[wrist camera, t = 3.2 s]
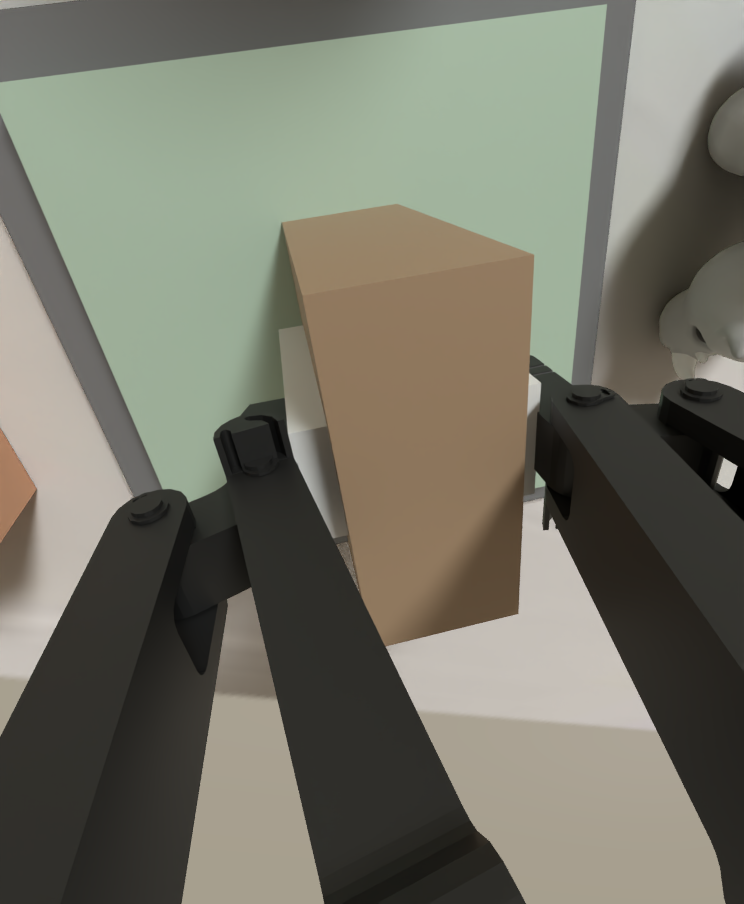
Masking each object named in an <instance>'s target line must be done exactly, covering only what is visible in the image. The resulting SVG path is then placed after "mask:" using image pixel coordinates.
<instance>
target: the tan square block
mask: <svg viewBox="0 0 744 904" xmlns="http://www.w3.org/2000/svg"><path fill="white" fill-rule="evenodd" d="M35 491H36V487H35V485H34V484H33V482H32V480H31V479H30V477H29V475H28V474H27V472H26V470H25V469H24V467H23V465H22V464H21V462H20V460H19V459H18V457H17V455H16V454H15V452H14V450H13V449H12V447H11V445H10V444H9V442H8V440H7V439H6V437H5V435H4V434H3V432H2V430H1V429H0V543H1V541H2V540H3V539H4V537H5V536H6V534H7V533H8V531H9V530H10V528H11V527H12V525H13V524H14V522H15V521H16V519H17V518H18V516H19V515H20V513H21V512H22V510H23V509H24V507H25V506H26V504H27V503H28V501H29V500H30V498H31V497H32V495H33V494H34V492H35Z"/></svg>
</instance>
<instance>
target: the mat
mask: <svg viewBox="0 0 744 904" xmlns="http://www.w3.org/2000/svg"><path fill="white" fill-rule="evenodd" d="M604 4H607V10H606V20H605V31H604V42H603V52H602V63H601V73H600V84H599V95H598V105H597V116H596V126H595V137H594V148H593V158H592V169H591V179H590V190H589V200H588V211H587V222H586V232H585V243H584V253H583V264H582V275H581V285H580V296H579V306H578V317H577V328H576V338H575V349H574V359H573V370H572V381H571V384H572V385H591V380H592V371H593V363H594V354H595V346H596V337H597V328H598V320H599V311H600V303H601V294H602V286H603V277H604V269H605V260H606V252H607V243H608V235H609V226H610V218H611V209H612V201H613V192H614V184H615V175H616V167H617V158H618V150H619V141H620V133H621V124H622V116H623V107H624V98H625V90H626V81H627V73H628V64H629V56H630V47H631V39H632V30H633V22H634V13H635V5H636V0H79V1H70V2H62V3H53V4H45V5H36V6H27V7H19V8H10V9H2V10H0V82H7V81H15V80H23V79H30V78H38V77H46V76H54V75H61V74H69V73H77V72H85V71H92V70H100V69H108V68H116V67H123V66H131V65H139V64H147V63H154V62H162V61H170V60H178V59H185V58H193V57H201V56H209V55H217V54H224V53H232V52H240V51H248V50H255V49H263V48H271V47H279V46H286V45H294V44H302V43H310V42H317V41H325V40H333V39H341V38H348V37H356V36H364V35H372V34H379V33H387V32H395V31H403V30H410V29H418V28H426V27H434V26H442V25H449V24H457V23H465V22H473V21H480V20H488V19H496V18H504V17H511V16H519V15H527V14H535V13H542V12H550V11H558V10H566V9H573V8H581V7H589V6H597V5H604ZM0 215H1V217H2V219H3V221H4V223H5V225H6V227H7V229H8V232H9V234H10V236H11V238H12V240H13V242H14V244H15V246H16V248H17V251H18V253H19V255H20V257H21V259H22V261H23V263H24V265H25V267H26V270H27V272H28V274H29V276H30V278H31V280H32V282H33V284H34V286H35V288H36V291H37V293H38V295H39V297H40V299H41V301H42V303H43V305H44V307H45V310H46V312H47V314H48V316H49V318H50V320H51V322H52V324H53V326H54V329H55V331H56V333H57V335H58V337H59V339H60V341H61V343H62V345H63V348H64V350H65V352H66V354H67V356H68V358H69V360H70V362H71V364H72V366H73V369H74V371H75V373H76V375H77V377H78V379H79V381H80V383H81V385H82V388H83V390H84V392H85V394H86V396H87V398H88V400H89V402H90V404H91V407H92V409H93V411H94V413H95V415H96V417H97V419H98V421H99V423H100V425H101V428H102V430H103V432H104V434H105V436H106V438H107V440H108V442H109V444H110V447H111V449H112V451H113V453H114V455H115V457H116V459H117V461H118V463H119V466H120V468H121V470H122V472H123V474H124V476H125V478H126V480H127V482H128V484H129V487H130V489H131V491H132V493H133V495H134V497H136V496H139V495H141V494H143V493H146V492H151V491H155V490H161V489H162V486H161V484H160V482H159V479H158V477H157V475H156V472H155V470H154V468H153V465H152V463H151V461H150V458H149V456H148V454H147V452H146V449H145V447H144V445H143V442H142V440H141V438H140V435H139V433H138V431H137V428H136V426H135V424H134V421H133V419H132V417H131V415H130V412H129V410H128V408H127V405H126V403H125V401H124V398H123V396H122V394H121V391H120V389H119V387H118V384H117V382H116V380H115V378H114V375H113V373H112V371H111V368H110V366H109V364H108V361H107V359H106V357H105V354H104V352H103V350H102V347H101V345H100V343H99V340H98V338H97V336H96V334H95V331H94V329H93V327H92V324H91V322H90V320H89V317H88V315H87V313H86V310H85V308H84V306H83V303H82V301H81V299H80V297H79V294H78V292H77V290H76V287H75V285H74V283H73V280H72V278H71V276H70V273H69V271H68V269H67V266H66V264H65V262H64V260H63V257H62V255H61V253H60V250H59V248H58V246H57V243H56V241H55V239H54V236H53V234H52V232H51V229H50V227H49V225H48V222H47V220H46V218H45V216H44V213H43V211H42V209H41V206H40V204H39V202H38V199H37V197H36V195H35V192H34V190H33V188H32V185H31V183H30V181H29V179H28V176H27V174H26V172H25V169H24V167H23V165H22V162H21V160H20V158H19V155H18V153H17V151H16V148H15V146H14V144H13V141H12V139H11V137H10V135H9V132H8V130H7V128H6V125H5V123H4V121H3V118H2V116H1V114H0ZM544 494H545V486H543V487H539V488H535V493H534V494H530V495H525V496H523V502H526V501H530V500H535V499H539V498H544ZM333 539H334V542H335V544H338V543H343V542H347V541H348V538H347V535H346V536H341V537H337V538H333Z"/></svg>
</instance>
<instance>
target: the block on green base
mask: <svg viewBox="0 0 744 904" xmlns="http://www.w3.org/2000/svg"><path fill="white" fill-rule="evenodd" d="M606 10H607V4H604V5H597V6H589V7H581V8H573V9H566V10H558V11H550V12H542V13H535V14H527V15H519V16H511V17H504V18H496V19H488V20H480V21H473V22H465V23H457V24H449V25H442V26H434V27H426V28H418V29H410V30H403V31H395V32H387V33H379V34H372V35H364V36H356V37H348V38H341V39H333V40H325V41H317V42H310V43H302V44H294V45H286V46H279V47H271V48H263V49H255V50H248V51H240V52H232V53H224V54H217V55H209V56H201V57H193V58H185V59H178V60H170V61H162V62H154V63H147V64H139V65H131V66H123V67H116V68H108V69H100V70H92V71H85V72H77V73H69V74H61V75H54V76H46V77H38V78H30V79H23V80H15V81H7V82H0V114H1V116H2V118H3V121H4V123H5V125H6V128H7V130H8V132H9V135H10V137H11V139H12V141H13V144H14V146H15V148H16V151H17V153H18V155H19V158H20V160H21V162H22V165H23V167H24V169H25V172H26V174H27V176H28V179H29V181H30V183H31V185H32V188H33V190H34V192H35V195H36V197H37V199H38V202H39V204H40V206H41V209H42V211H43V213H44V216H45V218H46V220H47V222H48V225H49V227H50V229H51V232H52V234H53V236H54V239H55V241H56V243H57V246H58V248H59V250H60V253H61V255H62V257H63V260H64V262H65V264H66V266H67V269H68V271H69V273H70V276H71V278H72V280H73V283H74V285H75V287H76V290H77V292H78V294H79V297H80V299H81V301H82V303H83V306H84V308H85V310H86V313H87V315H88V317H89V320H90V322H91V324H92V327H93V329H94V331H95V334H96V336H97V338H98V340H99V343H100V345H101V347H102V350H103V352H104V354H105V357H106V359H107V361H108V364H109V366H110V368H111V371H112V373H113V375H114V378H115V380H116V382H117V384H118V387H119V389H120V391H121V394H122V396H123V398H124V401H125V403H126V405H127V408H128V410H129V412H130V415H131V417H132V419H133V421H134V424H135V426H136V428H137V431H138V433H139V435H140V438H141V440H142V442H143V445H144V447H145V449H146V452H147V454H148V456H149V458H150V461H151V463H152V465H153V468H154V470H155V472H156V475H157V477H158V479H159V482H160V484H161V486H162V489H173V490H177V491H181V492H182V493H183V494H184V495H185V496H186V498H187V500H188V502H191V501H193V500H196V499H198V498H201V497H203V496H206V495H208V494H210V493H212V492H214V491H216V490H217V489H219V488H220V487H222V486H223V485H225V484H226V483H227V480H226V476H225V473H224V470H223V467H222V464H221V461H220V458H219V455H218V453H217V450H216V447H215V444H214V441H213V437H214V432H215V431H216V430H217V429H218V428H219V427H220V426H221V425H223V424H224V423H226V422H228V421H229V420H231V419H233V418H236V417H239V416H240V415H241V414H242V413H243V412H244V410H245V409H246V408H247V407H248V406H249V405H250V404H255V403H260V402H266V401H271V400H276V399H281V398H285V395H284V384H283V373H282V363H281V352H280V341H279V329H285V328H290V327H296V326H301V325H303V327H304V331H305V335H306V339H307V344H308V348H309V352H310V356H311V360H312V365H313V369H314V373H315V377H316V382H317V386H318V390H319V394H320V398H321V403H322V407H323V411H324V415H325V420H326V424H327V428H328V433H329V438H330V443H331V448H332V454H333V459H334V464H335V469H336V474H337V479H338V484H339V489H340V494H341V499H342V504H343V509H344V514H345V519H346V524H347V529H348V534H349V535H347V538H348V543H349V547H350V552H351V556H352V561H353V565H354V570H355V574H356V579H357V583H358V588H359V592H360V595H361V597H362V599H363V601H364V604H365V606H366V608H367V610H368V612H369V614H370V616H371V618H372V620H373V622H374V624H375V626H376V628H377V630H378V632H379V634H380V637H381V639H382V641H383V643H384V645H385V646H389V645H393V644H397V643H401V642H405V641H409V640H413V639H417V638H422V637H426V636H430V635H434V634H438V633H442V632H446V631H450V630H454V629H458V628H462V627H466V626H470V625H474V624H479V623H483V622H487V621H491V620H495V619H499V618H503V617H507V616H511V615H515V614H518V608H519V585H520V563H521V541H522V519H523V496H524V474H525V452H526V430H527V407H528V385H529V363H530V355H532V356H534V357H536V358H537V359H538V360H540V361H541V362H542V363H544V366H545V365H546V366H548V367H549V368H550V369H552V370H553V372H556V373H557V374H558V375H560V376H561V377H562V378H564V379H565V380H566V381H568V382H569V383H570V384H571V381H572V370H573V359H574V349H575V338H576V328H577V317H578V306H579V296H580V285H581V275H582V264H583V253H584V243H585V232H586V222H587V211H588V200H589V190H590V179H591V169H592V158H593V148H594V137H595V126H596V116H597V105H598V95H599V84H600V73H601V63H602V52H603V42H604V31H605V20H606ZM543 486H545V481H544V480H543V479H542V478H541V477H540V475H539V474H538V473H537V472H536V477H535V488H539V487H543Z"/></svg>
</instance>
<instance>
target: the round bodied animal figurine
mask: <svg viewBox="0 0 744 904" xmlns="http://www.w3.org/2000/svg"><path fill="white" fill-rule="evenodd" d="M708 150H709V153H710V155H711V157H712V159H713V160H714V161H715V162H716V163H717V164H718V165H719V166H720V167H721V168H723V169H725V170H726V171H728V172H730V173H733V174H736V175H740V176H744V87H743V88H741V89H740V90H738V91H737V92H736V93H734V94H733V95H732V96H731V97H730V98H728V99H727V100H726V101H725V102H724V103H723V105H722V106H721V107H720V108H719V110H718V111H717V113H716V114H715V116H714V118H713V120H712V123H711V125H710V129H709V133H708ZM659 338H660V341H661V343H662V345H664V346H666V347H668V348H669V349H670V350H671V354H672V364H673V368H674V370H675V372H676V374H677V375H678V377H679V378H680V379H682V380H685V379H688V378H695V375H694V369H695V365H696V363H697V361H698V360H699V362H700V363H702V364H705V362H706V361H707V359H708V357H709V356H712V355H716V354H718V355H721V356H724V357H727V358H729V359H732V360H735V361H739V362H744V241H743V242H740V243H738V244H735V245H733V246H731V247H729V248H727V249H725V250H723V251H721V252H720V253H718V254H717V255H715V256H714V257H713V258H711V259H710V260H709V261H708V262H707V263H706V264H705V265H704V266H703V267H702V268H701V269H700V270H699V271H698V273H697V274H696V276H695V277H694V279H693V281H692V283H691V285H690V288H689V289H687V290H685V291H683V292H681V293H679V294H678V295H676V296H675V297H674V298H672V299H671V300H670V301H669V302H668V303H667V305H666V306H665V308H664V309H663V311H662V313H661V316H660V320H659Z"/></svg>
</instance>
